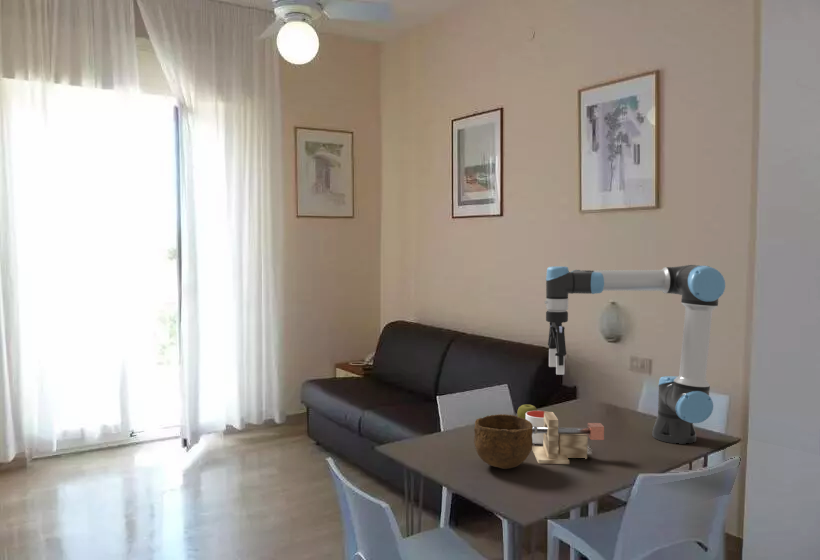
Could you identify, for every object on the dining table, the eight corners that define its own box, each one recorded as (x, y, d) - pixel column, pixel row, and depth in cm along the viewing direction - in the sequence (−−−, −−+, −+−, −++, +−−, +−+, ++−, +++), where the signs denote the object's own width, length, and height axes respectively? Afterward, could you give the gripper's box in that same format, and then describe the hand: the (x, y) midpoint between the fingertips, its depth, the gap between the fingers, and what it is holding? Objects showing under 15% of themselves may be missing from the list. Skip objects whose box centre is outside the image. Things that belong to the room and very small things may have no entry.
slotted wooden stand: (581, 450, 224) (582, 411, 223) (591, 464, 210) (592, 422, 209) (532, 449, 225) (532, 410, 224) (538, 463, 211) (539, 421, 210)
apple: (538, 426, 254) (539, 408, 253) (518, 425, 254) (518, 407, 253) (535, 420, 261) (535, 403, 261) (515, 420, 261) (516, 403, 261)
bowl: (519, 482, 194) (520, 433, 193) (463, 470, 204) (464, 423, 203) (541, 464, 210) (542, 419, 209) (488, 453, 220) (489, 410, 219)
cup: (553, 446, 229) (553, 418, 228) (524, 444, 231) (525, 416, 230) (552, 438, 238) (553, 411, 238) (525, 436, 240) (525, 409, 240)
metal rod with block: (600, 435, 219) (600, 423, 218) (603, 439, 214) (604, 426, 214) (530, 434, 219) (530, 421, 219) (532, 438, 215) (532, 425, 215)
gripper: (540, 306, 238) (539, 363, 239) (552, 314, 213) (552, 377, 214) (560, 306, 238) (560, 363, 239) (575, 314, 213) (575, 378, 214)
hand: (556, 370), depth 227 cm, fingers open, 13 cm apart
